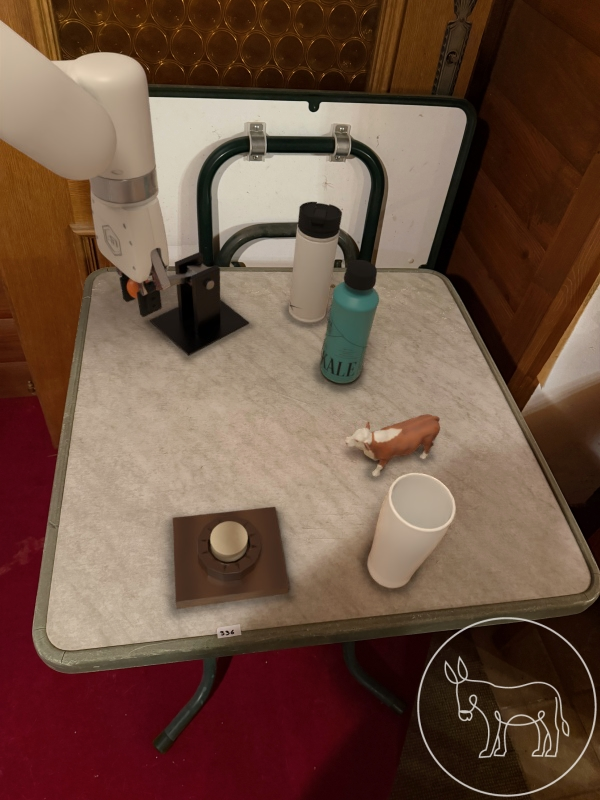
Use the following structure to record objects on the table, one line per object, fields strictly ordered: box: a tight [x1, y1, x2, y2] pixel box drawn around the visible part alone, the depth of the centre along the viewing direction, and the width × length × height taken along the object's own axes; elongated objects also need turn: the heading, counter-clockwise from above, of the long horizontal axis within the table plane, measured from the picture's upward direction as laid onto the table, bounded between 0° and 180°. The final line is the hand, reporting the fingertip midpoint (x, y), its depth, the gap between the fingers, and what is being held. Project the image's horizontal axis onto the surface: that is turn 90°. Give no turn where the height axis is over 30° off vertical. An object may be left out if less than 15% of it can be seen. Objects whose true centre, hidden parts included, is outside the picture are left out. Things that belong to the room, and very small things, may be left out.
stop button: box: [210, 521, 248, 562], centre depth 61 cm, size 4×4×2 cm
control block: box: [172, 506, 290, 610], centre depth 63 cm, size 12×10×4 cm
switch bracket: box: [149, 251, 250, 357], centre depth 85 cm, size 12×10×12 cm
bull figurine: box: [344, 413, 441, 477], centre depth 73 cm, size 4×13×8 cm, turn 111°
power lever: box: [127, 263, 209, 300], centre depth 79 cm, size 13×3×3 cm, turn 134°
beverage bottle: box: [319, 259, 380, 384], centre depth 78 cm, size 6×7×20 cm
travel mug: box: [287, 201, 343, 325], centre depth 87 cm, size 6×7×20 cm
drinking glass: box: [366, 472, 457, 589], centre depth 60 cm, size 7×7×15 cm
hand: (142, 303), depth 78 cm, fingers closed on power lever, 3 cm apart
